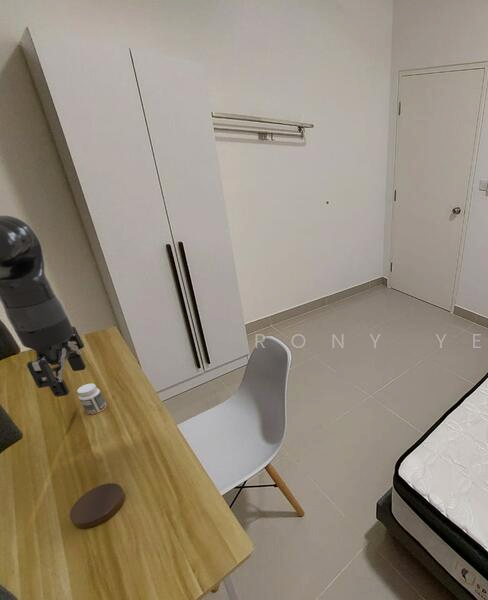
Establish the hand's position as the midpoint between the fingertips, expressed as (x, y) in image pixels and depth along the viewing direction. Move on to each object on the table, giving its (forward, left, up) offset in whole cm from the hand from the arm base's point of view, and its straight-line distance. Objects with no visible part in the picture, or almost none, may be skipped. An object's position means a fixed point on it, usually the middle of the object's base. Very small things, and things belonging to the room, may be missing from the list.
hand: (71, 381), depth 72 cm
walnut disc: (0, -14, -26) cm, 30 cm away
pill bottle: (-7, +22, -27) cm, 36 cm away
